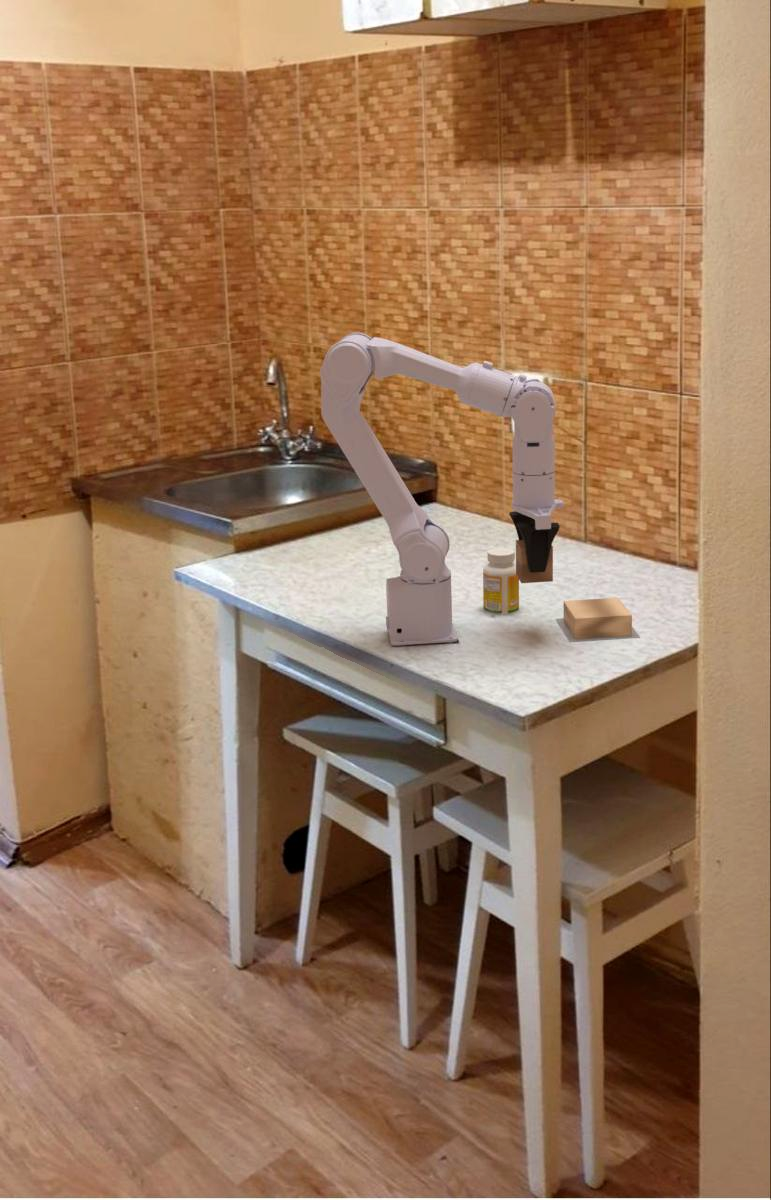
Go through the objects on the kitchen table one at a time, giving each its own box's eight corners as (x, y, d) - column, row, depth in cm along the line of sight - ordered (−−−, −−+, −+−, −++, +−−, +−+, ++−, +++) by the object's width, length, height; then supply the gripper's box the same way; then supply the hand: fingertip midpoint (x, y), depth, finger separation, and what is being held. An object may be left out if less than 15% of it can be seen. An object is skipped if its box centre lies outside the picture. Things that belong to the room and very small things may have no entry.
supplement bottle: (487, 619, 192) (485, 557, 189) (480, 608, 197) (479, 547, 194) (522, 617, 192) (522, 555, 189) (515, 606, 197) (514, 545, 194)
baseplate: (569, 645, 180) (569, 641, 180) (555, 622, 189) (555, 618, 189) (640, 641, 180) (640, 637, 180) (622, 618, 190) (622, 614, 190)
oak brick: (575, 639, 181) (575, 618, 180) (563, 620, 188) (563, 600, 187) (631, 635, 181) (632, 615, 180) (617, 617, 189) (618, 597, 188)
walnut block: (521, 583, 179) (521, 548, 178) (516, 574, 184) (515, 540, 182) (552, 581, 180) (552, 546, 178) (546, 572, 184) (546, 538, 182)
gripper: (573, 481, 170) (573, 579, 174) (552, 458, 184) (552, 550, 188) (520, 484, 170) (521, 583, 174) (503, 461, 184) (504, 553, 188)
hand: (534, 566), depth 181 cm, fingers closed on walnut block, 4 cm apart
